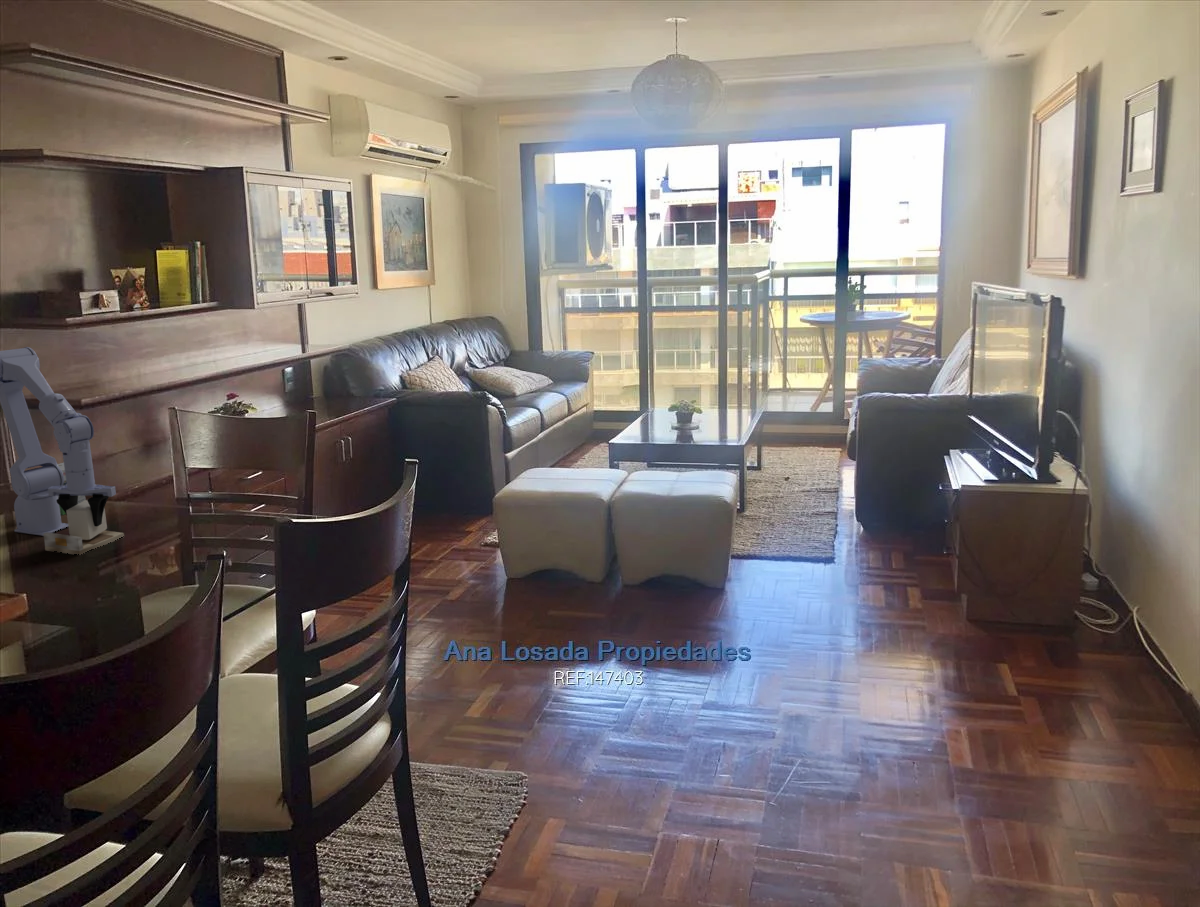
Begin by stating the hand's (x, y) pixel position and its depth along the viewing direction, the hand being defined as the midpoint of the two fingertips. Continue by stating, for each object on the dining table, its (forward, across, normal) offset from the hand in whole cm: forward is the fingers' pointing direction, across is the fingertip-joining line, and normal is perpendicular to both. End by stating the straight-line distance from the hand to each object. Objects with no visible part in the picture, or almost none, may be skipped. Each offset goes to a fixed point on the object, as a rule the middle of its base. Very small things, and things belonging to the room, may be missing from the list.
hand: (86, 525), depth 220 cm
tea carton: (+2, 0, 0) cm, 2 cm away
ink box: (+4, +18, -24) cm, 31 cm away
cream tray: (+4, 0, +1) cm, 4 cm away
